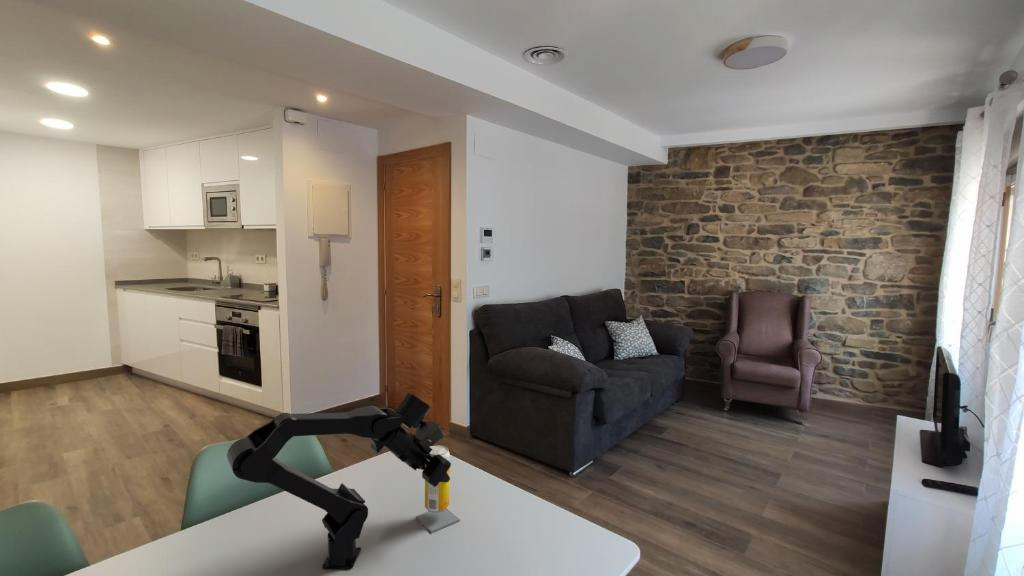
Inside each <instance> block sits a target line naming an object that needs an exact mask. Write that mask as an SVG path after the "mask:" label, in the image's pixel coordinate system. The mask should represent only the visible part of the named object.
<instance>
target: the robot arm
mask: <svg viewBox="0 0 1024 576" xmlns="http://www.w3.org/2000/svg"><path fill="white" fill-rule="evenodd" d="M431 410H432V407H431V406H430V405H429V404H427V403H426V402H425V401H424V400H421V399H420V398H419V397H417V396H416V395H415V394H413V393H412V392H408V393H407V394H406V395H405V397H404V398H403V399H402V401H401V403H400V404H399V405H398V406H397V408H396V409H395V410H394V409H392V408H391V407H387V408H385V407H384V408H383V407H382V408H379V407H377V406H375V405H367V406H362V407H357V408H354V409H352V410H350V411H344V412H313V413H312V412H311V413H304V412H303V413H290V412H283V413H279V414H278V415H276V416H275V417H274V418H272V420H271V421H269V422H267V423H264V424H263V425H261V426H259V427H258V428H256V429H254V430H253V431H251V432H250V433H249V434H248V435H247V436H246V437H244V438H240V439H238V440H236V441H234V442H233V443H232V444H231V445H230V446H229V448H228V450H227V452H226V458H227V462H228V464H229V466H230V468H231V471H232V473H233V474H234V476H235V477H236V478H237V479H240V480H243V481H247V482H251V483H255V484H270V485H272V486H274V487H275V488H278V489H280V490H283V491H285V492H286V493H289V494H290V495H293V496H295V497H296V498H299V499H301V500H303V501H305V502H307V503H309V504H311V505H313V506H315V507H318V508H320V509H322V510H323V511H325V512H326V513H325V515H324V516H323V517H322V519H321V523H322V525H323V526H324V528H325V529H326V530H327V532H328V533H327V557H326V558H325V559H324V560H325V561H324V562H323V563H322V565H321V567H322V569H323V570H327V569H328V570H329V569H330V570H332V569H333V570H350V569H351V570H352V569H353V568H354V566H355V564H356V562H357V559H358V557H359V555H360V553H361V551H362V547H359V546H356V545H357V541H356V540H357V539H360V536H361V533H362V530H363V528H364V523H366V520H367V518H368V516H369V507H368V506H367V505H366V504H365V503H366V500H365V499H364V498H363V497H362V496H361V495H360V494H359V492H357V491H356V489H355V488H350V487H347V486H346V485H345V484H344V483H343V482H342V483H340V485H339V487H338V488H331V487H329V486H327V485H326V484H324V483H321V482H320V481H318V480H317V479H314V478H313V477H311V476H308V475H307V474H304V473H303V472H301V471H299V470H297V469H295V468H293V467H292V466H289V465H288V464H285V463H284V462H282V461H280V460H278V458H276V456H277V455H278V454H279V453H280V452H281V451H282V449H283V448H284V447H285V445H286V444H287V443H288V441H290V440H291V439H292V438H293V437H304V436H305V437H307V436H308V437H309V436H311V437H312V436H327V435H344V434H347V435H354V436H357V437H361V438H366V439H367V438H368V439H370V440H371V441H370V448H371V450H373V451H374V452H376V453H377V454H379V453H380V452H381V451H382V450H383V448H385V449H386V450H387V451H389V453H392V454H393V455H394V456H395V457H396V458H397V459H399V460H400V461H402V462H403V463H405V465H407V466H409V468H411V469H412V470H414V471H417V470H422V471H421V478H422V479H424V481H425V480H426V481H427V482H429V483H430V484H431V485H432V486H434V487H435V486H437V485H438V484H439V482H449V483H450V481H451V477H449V475H448V474H447V471H448V469H449V468H451V467H452V463H451V462H449V461H448V460H447V459H445V458H444V457H442V456H441V455H439V454H438V455H434V456H433V457H431V456H430V455H429V454H430V452H431V451H432V449H431V448H430V447H432V446H435V444H436V443H437V442H439V441H440V440H442V439H444V437H445V434H444V433H443V430H442V428H441V425H440V424H439V423H437V422H435V421H432V420H431V421H430V420H427V422H426V421H424V418H426V416H427V415H428V413H429V412H430V411H431ZM402 425H403V426H404V427H406V429H409V430H411V429H413V430H415V433H414V434H413V433H412V432H410V431H408V430H406V429H405V428H404V427H403V426H402ZM426 459H428V460H429V461H430V462H429V461H428V460H426ZM425 465H426V467H425Z"/></svg>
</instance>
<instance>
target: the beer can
mask: <svg viewBox="0 0 1024 576" xmlns="http://www.w3.org/2000/svg"><path fill="white" fill-rule="evenodd" d="M430 448H431V449H432V451H431V452H430V454H429V455H430V456H431V457H433V456H434V455H438V454H439V455H441V456H442V457H444V458H445V459H447V460H448V461H449V462H450V461H451V460H450V458H451V457H450V456H451V455H450V451H449V448H448V447H447V446H444V445H432V446H430ZM426 460H428V459H426ZM428 461H429V460H428ZM429 462H430V461H429ZM450 463H451V462H450ZM425 467H426V465H425ZM450 468H451V467H450ZM450 468H449V469H448V471H447V474H448V475H449V477H450V475H451V474H450V473H451V469H450ZM450 478H451V477H450ZM449 506H450V481H449V482H439V484H438V485H437V486H435V487H434V486H432V485H431V484H430V483H429V482H427V481H426V480H425V479H424V507H425V509H426V510H427V512H428V511H429V512H431V513H441V512H443V511H445V510H446V509H448V508H449Z"/></svg>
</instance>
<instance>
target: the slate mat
mask: <svg viewBox="0 0 1024 576" xmlns="http://www.w3.org/2000/svg"><path fill="white" fill-rule="evenodd" d="M415 519H416V520H417V521H418V522H419V523H420V524H421V525H422V526H423V527H425V529H426V530H427V531H429V532H430V533H431V534H434V533H435V532H436V533H437V532H438V531H441V530H442V529H445V528H447V527H450V526H451V525H452V526H453V525H454V524H457V523H458V522H460V521H461V519H460V518H459V517H458V516H456V515H455V514H454V513H453V512H452V511H450V510H449V509H448V508H447V509H446V510H445V511H443V512H441V513H431V512H429V511H428V510H427V511H425V512H423V513H420V514H418V515H415Z"/></svg>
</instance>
